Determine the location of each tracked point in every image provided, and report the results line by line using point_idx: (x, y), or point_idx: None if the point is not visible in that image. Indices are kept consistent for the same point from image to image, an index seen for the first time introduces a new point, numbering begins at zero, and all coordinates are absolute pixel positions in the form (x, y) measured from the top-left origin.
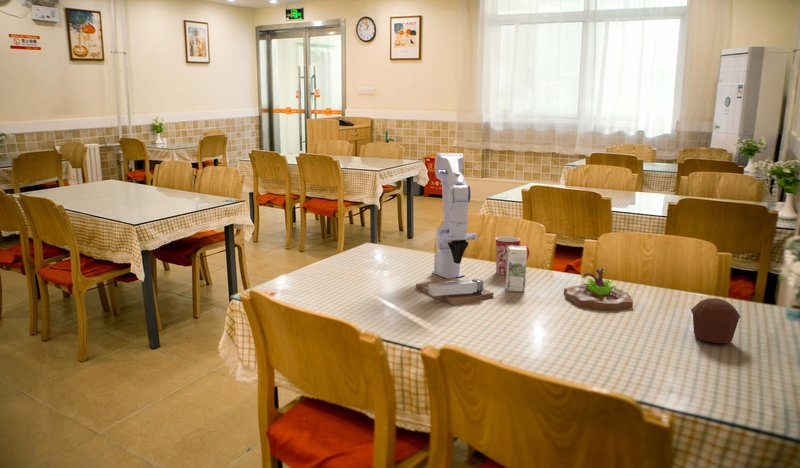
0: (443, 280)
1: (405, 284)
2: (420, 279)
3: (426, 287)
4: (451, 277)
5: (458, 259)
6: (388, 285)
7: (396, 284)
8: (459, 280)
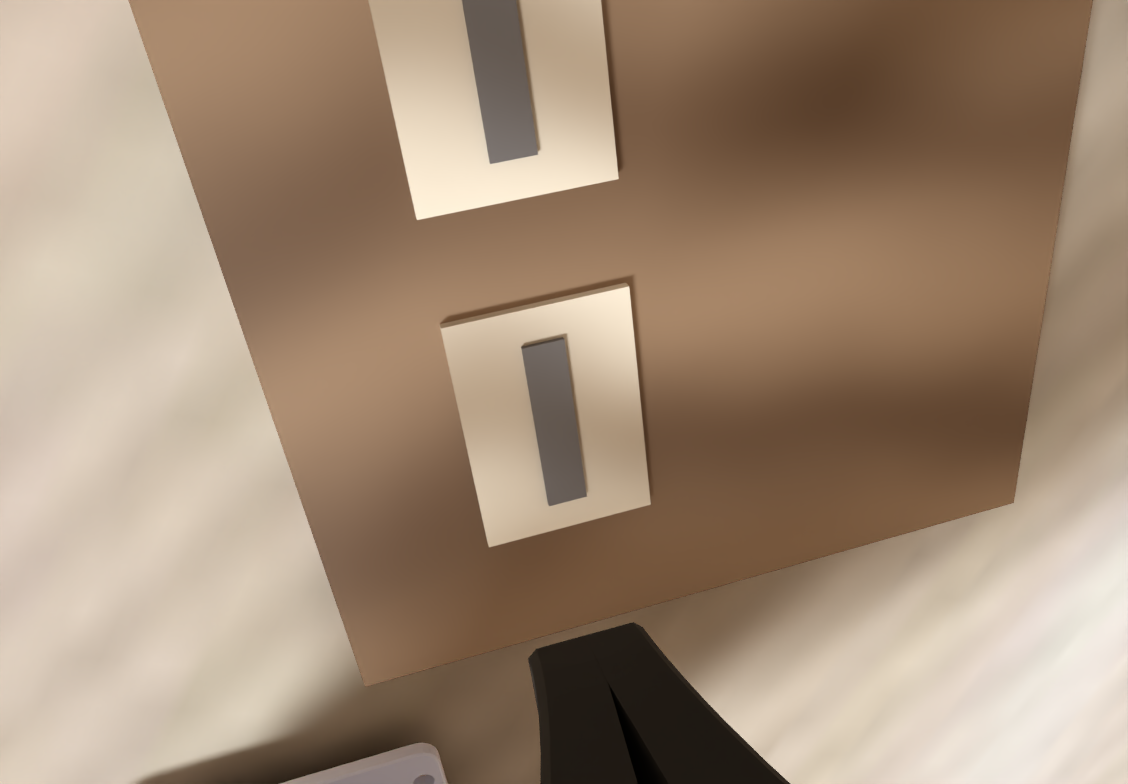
0: (594, 599)
1: (959, 631)
2: None
3: (1009, 331)
4: (358, 765)
5: (672, 695)
6: (1115, 621)
7: (1032, 642)
8: (353, 565)
